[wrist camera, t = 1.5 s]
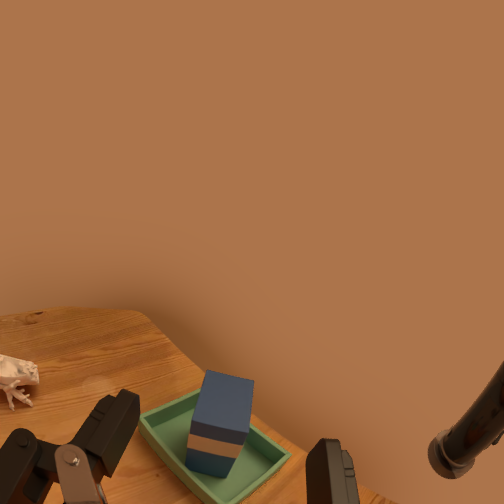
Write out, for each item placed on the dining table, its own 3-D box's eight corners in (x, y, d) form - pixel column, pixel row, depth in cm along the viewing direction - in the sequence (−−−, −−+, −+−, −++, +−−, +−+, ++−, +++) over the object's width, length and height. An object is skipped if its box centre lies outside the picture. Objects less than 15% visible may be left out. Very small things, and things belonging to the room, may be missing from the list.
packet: (233, 436, 30) (254, 380, 26) (226, 479, 23) (249, 433, 19) (195, 427, 30) (206, 368, 26) (183, 469, 23) (190, 420, 19)
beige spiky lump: (43, 382, 22) (-37, 379, 13) (50, 421, 22) (-22, 420, 13) (32, 337, 29) (-30, 333, 20) (36, 373, 30) (-22, 370, 21)
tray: (281, 467, 26) (292, 454, 25) (220, 517, 18) (225, 510, 16) (203, 401, 35) (206, 384, 34) (139, 431, 27) (136, 415, 25)
